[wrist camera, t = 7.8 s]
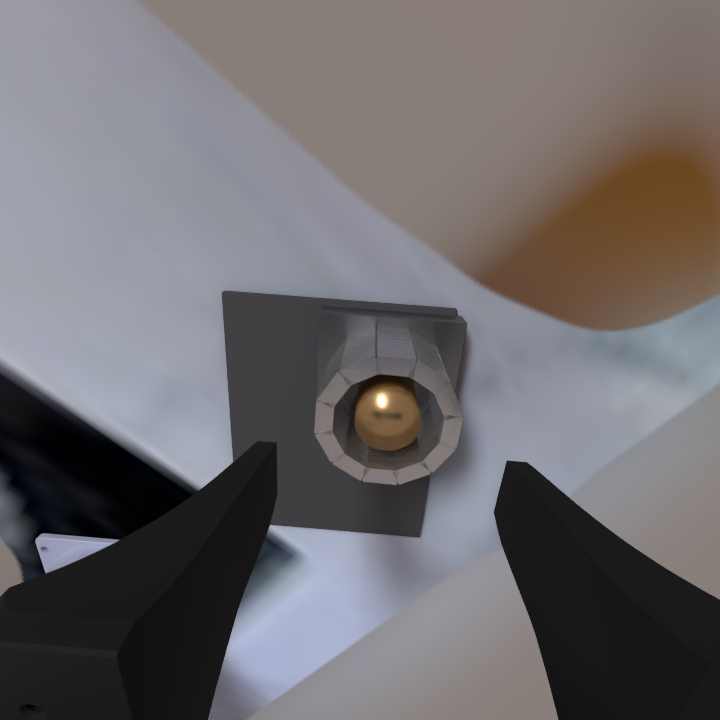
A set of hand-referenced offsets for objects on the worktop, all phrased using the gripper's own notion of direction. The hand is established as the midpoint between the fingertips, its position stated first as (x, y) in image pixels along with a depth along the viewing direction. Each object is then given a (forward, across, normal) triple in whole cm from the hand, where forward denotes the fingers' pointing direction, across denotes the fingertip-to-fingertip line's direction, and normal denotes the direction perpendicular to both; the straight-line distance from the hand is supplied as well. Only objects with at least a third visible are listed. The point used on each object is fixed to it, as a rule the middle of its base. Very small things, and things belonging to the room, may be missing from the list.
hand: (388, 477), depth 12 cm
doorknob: (+8, 0, 0) cm, 8 cm away
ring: (+7, 0, 0) cm, 7 cm away
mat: (+8, +2, +3) cm, 9 cm away
